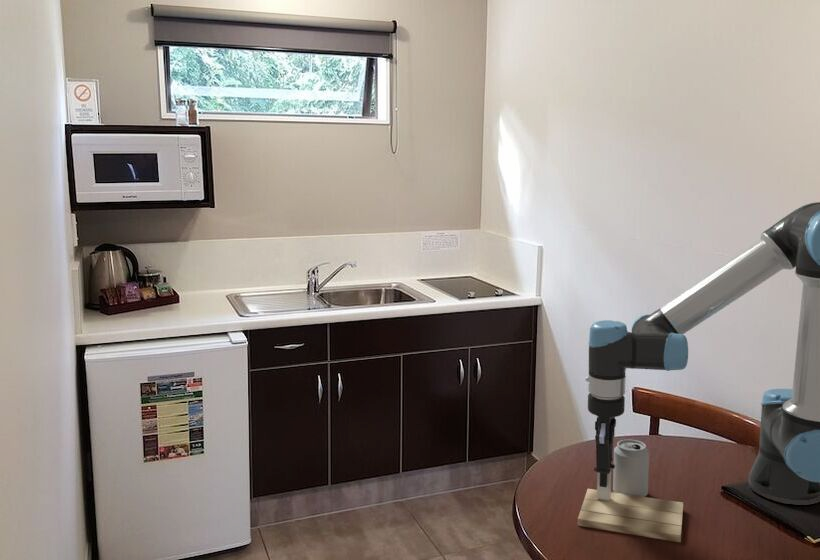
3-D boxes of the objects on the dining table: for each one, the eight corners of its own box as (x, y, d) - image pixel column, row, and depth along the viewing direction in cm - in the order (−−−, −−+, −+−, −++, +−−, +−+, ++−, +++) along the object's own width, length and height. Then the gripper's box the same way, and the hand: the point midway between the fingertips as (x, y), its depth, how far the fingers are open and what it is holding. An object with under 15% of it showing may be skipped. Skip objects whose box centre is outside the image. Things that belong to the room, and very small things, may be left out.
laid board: (681, 532, 147) (681, 525, 146) (680, 542, 143) (680, 535, 143) (580, 516, 154) (580, 509, 154) (577, 525, 151) (577, 518, 150)
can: (649, 503, 159) (651, 451, 157) (614, 501, 160) (615, 449, 158) (645, 488, 166) (647, 438, 164) (611, 485, 167) (612, 436, 165)
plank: (682, 509, 155) (683, 502, 155) (681, 532, 147) (681, 525, 146) (587, 494, 163) (587, 488, 162) (580, 516, 154) (580, 509, 154)
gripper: (592, 382, 161) (590, 482, 165) (583, 402, 149) (581, 509, 153) (627, 386, 158) (624, 487, 162) (621, 406, 146) (618, 515, 150)
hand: (603, 497), depth 158 cm, fingers closed
